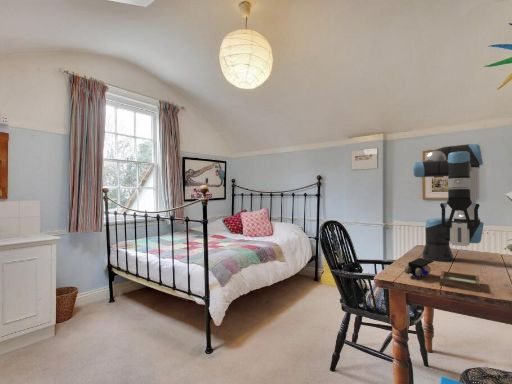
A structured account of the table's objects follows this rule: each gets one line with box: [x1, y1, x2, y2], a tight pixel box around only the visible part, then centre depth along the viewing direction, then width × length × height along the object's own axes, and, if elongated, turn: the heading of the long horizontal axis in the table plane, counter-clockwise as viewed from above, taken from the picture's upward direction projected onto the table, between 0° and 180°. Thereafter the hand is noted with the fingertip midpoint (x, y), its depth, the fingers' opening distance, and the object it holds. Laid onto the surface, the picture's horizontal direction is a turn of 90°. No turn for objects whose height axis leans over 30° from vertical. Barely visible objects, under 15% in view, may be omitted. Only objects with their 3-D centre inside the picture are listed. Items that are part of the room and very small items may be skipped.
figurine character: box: [404, 257, 434, 281], centre depth 127 cm, size 7×8×15 cm
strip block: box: [451, 222, 468, 247], centre depth 116 cm, size 5×5×10 cm
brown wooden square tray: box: [439, 270, 481, 293], centre depth 116 cm, size 13×13×3 cm
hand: (459, 243), depth 116 cm, fingers closed on strip block, 5 cm apart
